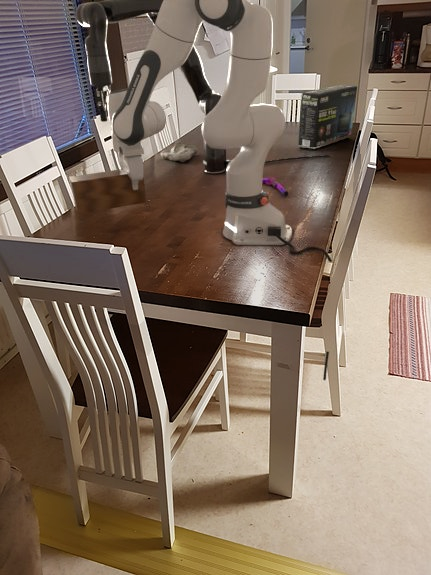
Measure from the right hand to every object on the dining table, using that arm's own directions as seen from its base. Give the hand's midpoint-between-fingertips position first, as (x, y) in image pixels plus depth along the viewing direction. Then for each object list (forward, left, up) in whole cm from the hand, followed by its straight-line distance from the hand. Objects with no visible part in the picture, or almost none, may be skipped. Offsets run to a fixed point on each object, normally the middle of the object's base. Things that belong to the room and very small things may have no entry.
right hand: (132, 186), depth 152 cm
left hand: (+19, -23, +16) cm, 34 cm away
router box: (-54, -121, -14) cm, 133 cm away
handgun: (-39, -45, -14) cm, 61 cm away
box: (+6, +5, -5) cm, 10 cm away
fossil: (+15, -81, -14) cm, 83 cm away
